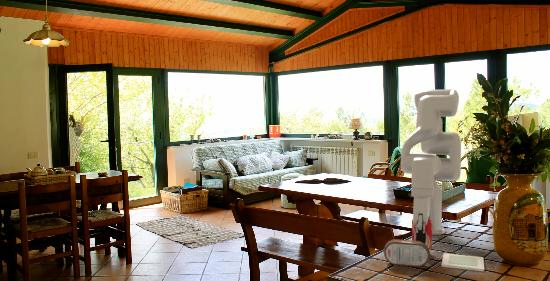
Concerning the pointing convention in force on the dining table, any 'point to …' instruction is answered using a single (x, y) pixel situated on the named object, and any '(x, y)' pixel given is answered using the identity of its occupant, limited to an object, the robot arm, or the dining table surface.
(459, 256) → the pad
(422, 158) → the robot arm
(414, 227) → the soda can
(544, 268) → the dining table surface
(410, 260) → the tin
